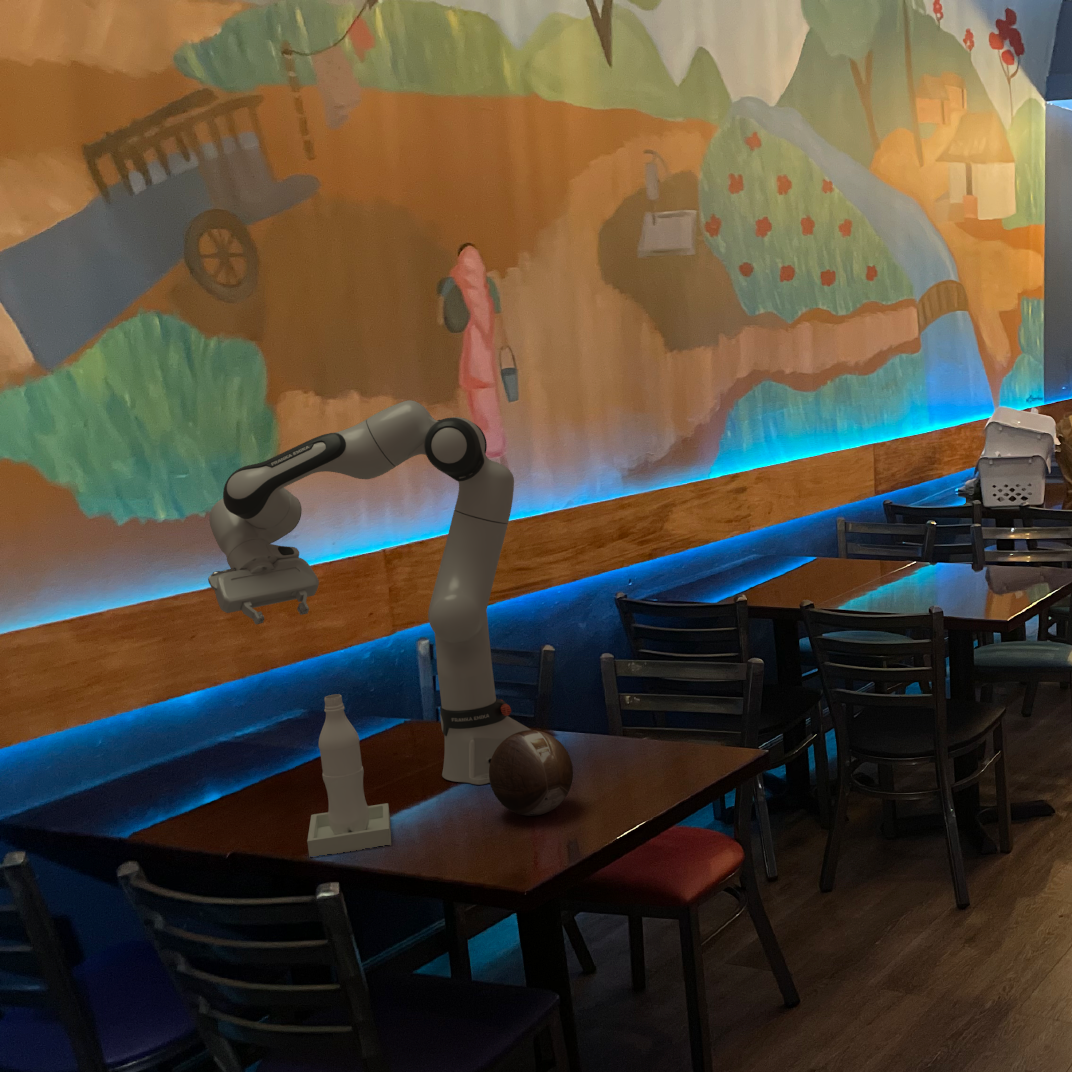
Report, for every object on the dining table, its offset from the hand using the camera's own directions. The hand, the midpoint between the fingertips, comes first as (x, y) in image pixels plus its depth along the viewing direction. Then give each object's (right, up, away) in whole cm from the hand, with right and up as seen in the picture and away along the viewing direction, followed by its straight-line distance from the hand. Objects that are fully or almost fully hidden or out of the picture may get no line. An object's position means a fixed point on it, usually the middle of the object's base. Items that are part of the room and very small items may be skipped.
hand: (283, 617), depth 232 cm
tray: (+16, -38, -18) cm, 45 cm away
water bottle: (+16, -37, -18) cm, 44 cm away
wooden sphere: (+49, -34, -16) cm, 62 cm away
